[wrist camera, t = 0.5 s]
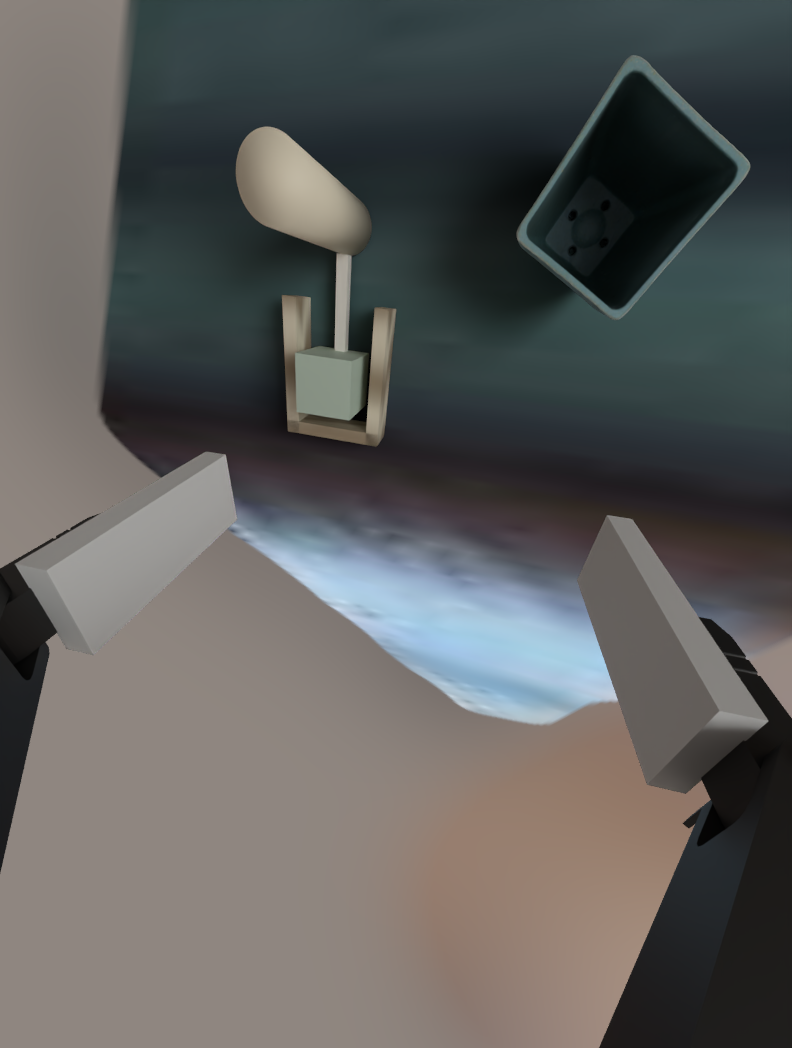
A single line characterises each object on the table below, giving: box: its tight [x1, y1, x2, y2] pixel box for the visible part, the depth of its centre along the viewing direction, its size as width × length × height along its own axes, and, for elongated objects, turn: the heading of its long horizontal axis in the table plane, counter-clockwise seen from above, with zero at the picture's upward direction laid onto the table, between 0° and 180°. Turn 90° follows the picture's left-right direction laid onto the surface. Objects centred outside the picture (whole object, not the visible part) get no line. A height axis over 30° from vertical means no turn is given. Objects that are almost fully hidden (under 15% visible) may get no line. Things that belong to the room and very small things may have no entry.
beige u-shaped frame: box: [282, 295, 396, 447], centre depth 36 cm, size 12×9×4 cm
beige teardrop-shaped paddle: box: [236, 127, 372, 421], centre depth 29 cm, size 16×5×14 cm, turn 174°
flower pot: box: [516, 55, 750, 320], centre depth 25 cm, size 9×9×9 cm
